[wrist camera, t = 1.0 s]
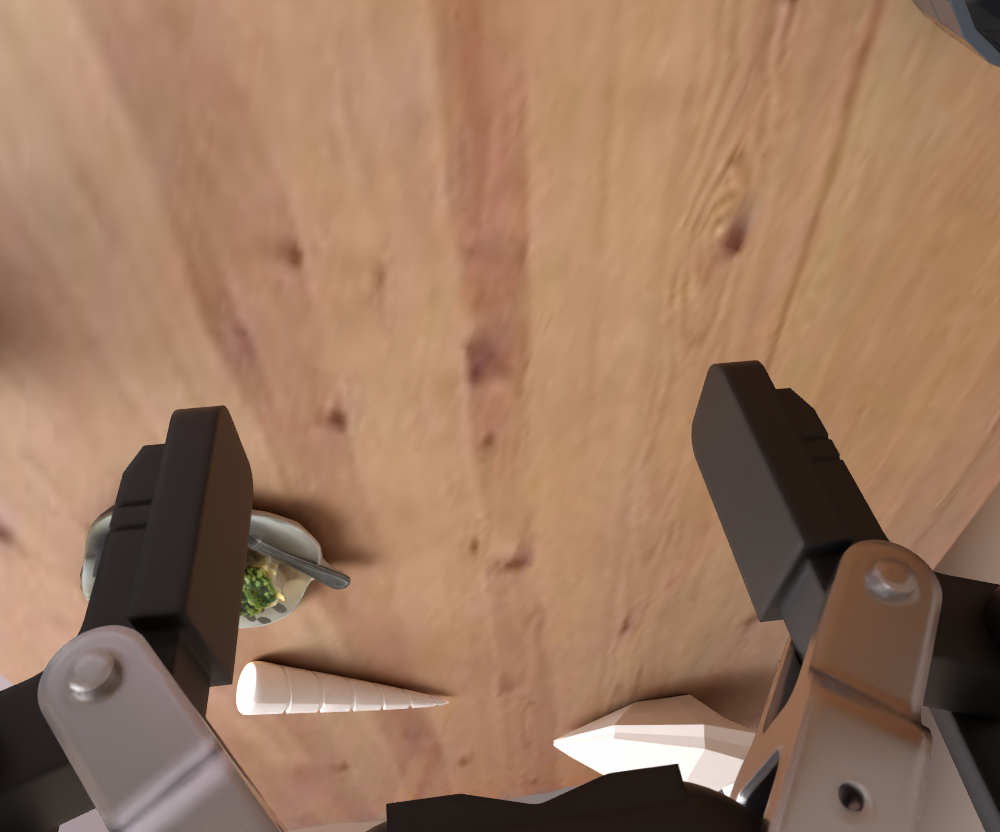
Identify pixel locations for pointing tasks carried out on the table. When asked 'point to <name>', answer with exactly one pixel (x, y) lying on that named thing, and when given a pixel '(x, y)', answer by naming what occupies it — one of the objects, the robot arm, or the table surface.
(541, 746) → the table surface
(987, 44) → the bowl
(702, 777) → the white faceted piece
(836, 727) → the robot arm
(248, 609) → the salad plate
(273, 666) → the unicorn horn
